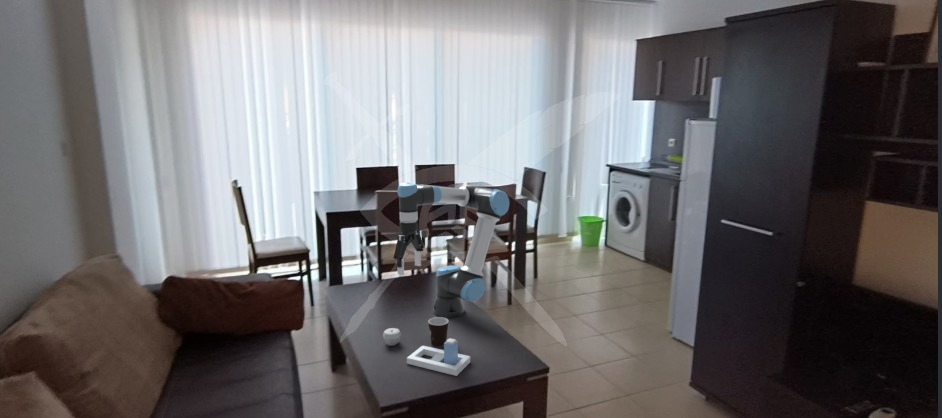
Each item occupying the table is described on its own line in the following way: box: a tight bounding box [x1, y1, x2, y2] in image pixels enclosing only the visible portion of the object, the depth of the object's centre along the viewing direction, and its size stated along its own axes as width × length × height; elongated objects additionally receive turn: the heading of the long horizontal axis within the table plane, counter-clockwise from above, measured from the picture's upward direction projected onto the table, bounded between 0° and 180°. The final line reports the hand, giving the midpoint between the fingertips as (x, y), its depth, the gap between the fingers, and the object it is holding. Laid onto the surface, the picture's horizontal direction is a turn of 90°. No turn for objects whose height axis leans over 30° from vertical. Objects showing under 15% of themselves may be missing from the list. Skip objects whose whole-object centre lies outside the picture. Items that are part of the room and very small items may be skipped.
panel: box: [406, 345, 471, 377], centre depth 206 cm, size 12×22×2 cm, turn 65°
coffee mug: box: [427, 316, 449, 347], centre depth 224 cm, size 12×9×10 cm
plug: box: [443, 338, 459, 366], centre depth 202 cm, size 4×4×11 cm
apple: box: [382, 327, 402, 347], centre depth 221 cm, size 8×8×7 cm
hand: (409, 270), depth 220 cm, fingers open, 13 cm apart
